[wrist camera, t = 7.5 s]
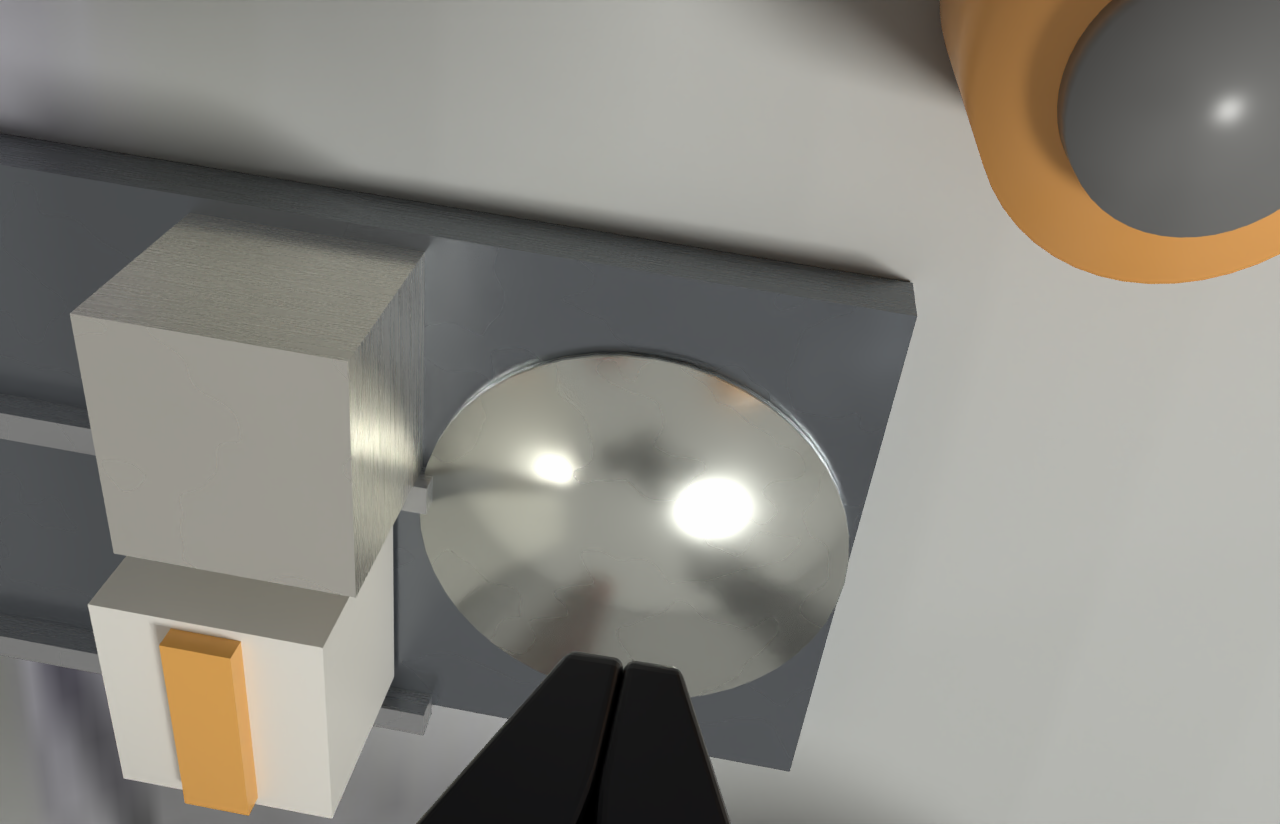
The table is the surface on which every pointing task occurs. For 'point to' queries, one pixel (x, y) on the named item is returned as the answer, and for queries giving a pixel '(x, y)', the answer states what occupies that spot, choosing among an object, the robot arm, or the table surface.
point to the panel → (436, 429)
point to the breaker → (243, 681)
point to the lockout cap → (1128, 128)
